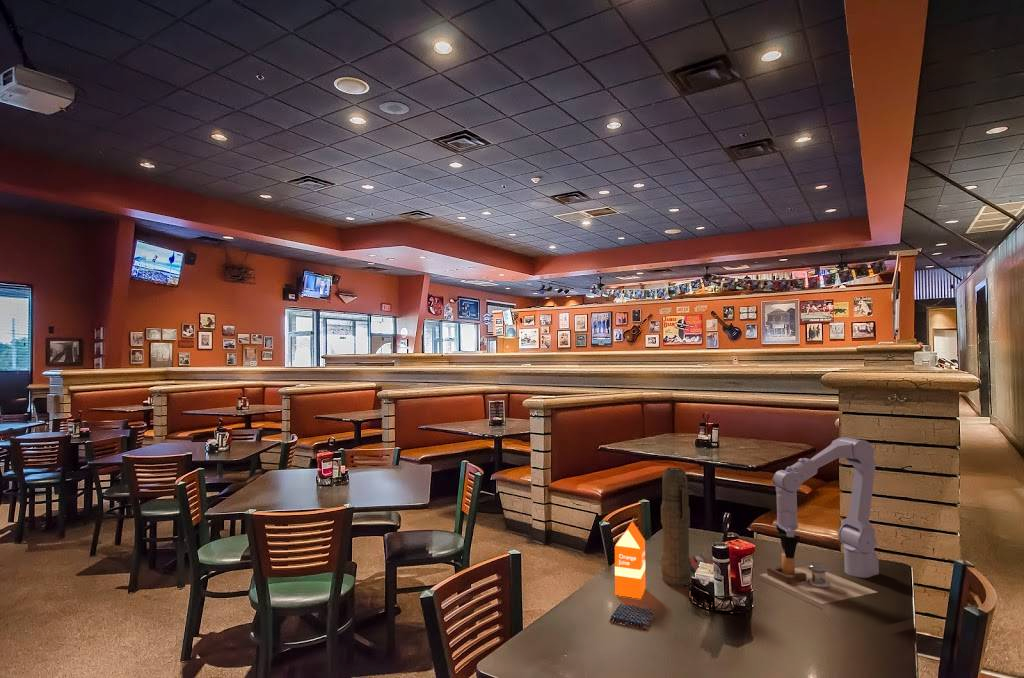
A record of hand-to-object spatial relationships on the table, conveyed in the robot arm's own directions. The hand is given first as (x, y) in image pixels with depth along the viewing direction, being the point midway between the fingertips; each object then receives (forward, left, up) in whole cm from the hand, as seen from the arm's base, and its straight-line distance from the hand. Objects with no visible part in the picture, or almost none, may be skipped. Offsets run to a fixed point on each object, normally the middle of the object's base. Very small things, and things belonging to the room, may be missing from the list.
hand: (788, 553), depth 176 cm
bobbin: (-4, +7, -7) cm, 11 cm away
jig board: (-4, +6, -9) cm, 12 cm away
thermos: (+32, -14, -9) cm, 36 cm away
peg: (0, 0, -7) cm, 7 cm away
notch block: (+1, 0, -7) cm, 7 cm away
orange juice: (+50, -12, -9) cm, 52 cm away
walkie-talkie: (+18, -19, -9) cm, 28 cm away
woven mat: (+59, +3, -10) cm, 60 cm away
